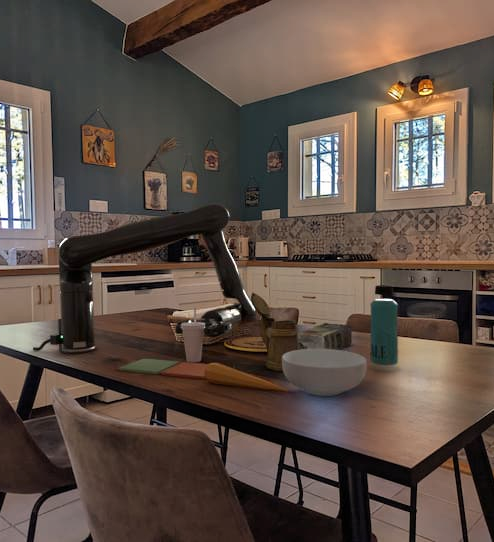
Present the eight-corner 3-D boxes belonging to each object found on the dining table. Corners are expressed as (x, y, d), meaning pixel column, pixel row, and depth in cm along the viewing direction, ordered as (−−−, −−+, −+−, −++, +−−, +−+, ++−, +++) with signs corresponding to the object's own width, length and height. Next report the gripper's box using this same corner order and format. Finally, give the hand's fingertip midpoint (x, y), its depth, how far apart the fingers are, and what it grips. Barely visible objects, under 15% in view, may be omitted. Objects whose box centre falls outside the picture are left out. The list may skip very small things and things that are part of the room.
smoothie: (202, 363, 129) (201, 309, 128) (178, 363, 130) (177, 308, 130) (208, 358, 135) (207, 305, 135) (185, 357, 137) (184, 305, 136)
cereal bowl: (310, 408, 93) (309, 370, 92) (267, 385, 108) (267, 353, 108) (384, 396, 100) (384, 360, 99) (334, 376, 115) (334, 345, 114)
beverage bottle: (398, 366, 123) (398, 284, 122) (398, 373, 117) (398, 286, 116) (370, 364, 125) (370, 283, 124) (368, 371, 119) (368, 286, 118)
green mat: (118, 370, 124) (118, 367, 124) (143, 360, 134) (143, 358, 134) (157, 374, 119) (156, 371, 119) (180, 363, 129) (180, 361, 129)
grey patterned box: (324, 357, 134) (323, 333, 134) (291, 353, 140) (290, 331, 139) (353, 345, 150) (353, 324, 150) (322, 342, 156) (322, 322, 156)
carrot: (202, 385, 112) (199, 368, 110) (213, 373, 115) (210, 356, 113) (286, 407, 102) (285, 389, 100) (295, 393, 106) (293, 375, 104)
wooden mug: (261, 359, 133) (260, 290, 132) (309, 365, 126) (308, 292, 125) (243, 366, 126) (242, 293, 125) (292, 373, 118) (291, 296, 117)
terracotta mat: (160, 374, 119) (160, 372, 119) (183, 364, 129) (183, 361, 129) (202, 379, 114) (202, 376, 114) (223, 367, 124) (223, 365, 124)
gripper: (196, 307, 149) (167, 315, 134) (240, 309, 143) (216, 317, 129) (196, 333, 150) (168, 343, 135) (241, 336, 144) (216, 347, 129)
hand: (191, 330), depth 132 cm, fingers open, 8 cm apart
